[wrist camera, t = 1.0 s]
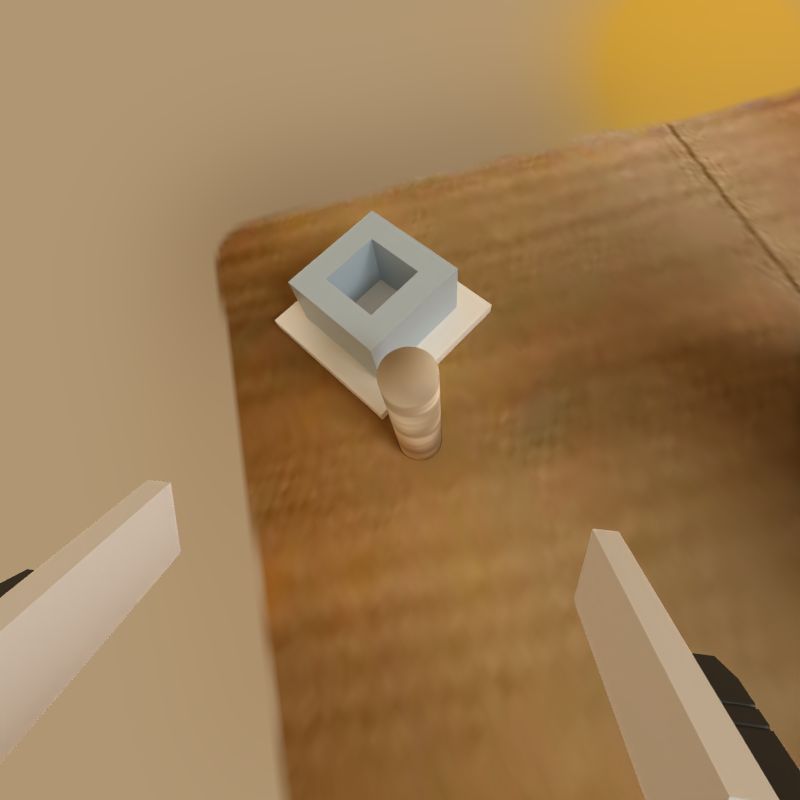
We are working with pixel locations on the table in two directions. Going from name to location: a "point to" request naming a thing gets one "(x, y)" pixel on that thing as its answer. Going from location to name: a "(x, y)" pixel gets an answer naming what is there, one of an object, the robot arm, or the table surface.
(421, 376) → the birch peg
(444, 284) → the socket block
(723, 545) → the table surface
